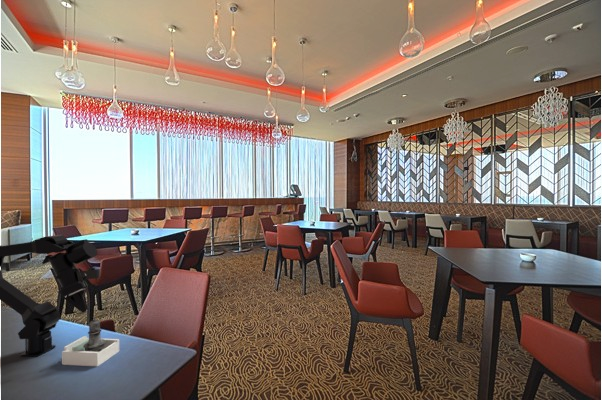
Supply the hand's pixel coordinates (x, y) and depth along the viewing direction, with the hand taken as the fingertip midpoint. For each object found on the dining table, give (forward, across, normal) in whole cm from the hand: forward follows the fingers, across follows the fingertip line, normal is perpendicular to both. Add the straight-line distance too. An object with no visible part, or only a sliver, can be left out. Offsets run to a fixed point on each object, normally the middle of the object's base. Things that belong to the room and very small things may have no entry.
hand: (85, 311), depth 98 cm
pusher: (+12, -3, +5) cm, 13 cm away
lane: (+14, -5, +3) cm, 15 cm away
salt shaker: (+14, -6, +2) cm, 15 cm away
